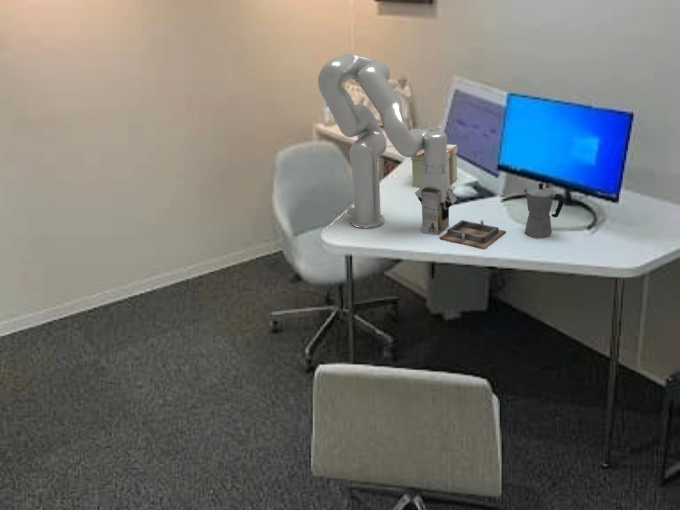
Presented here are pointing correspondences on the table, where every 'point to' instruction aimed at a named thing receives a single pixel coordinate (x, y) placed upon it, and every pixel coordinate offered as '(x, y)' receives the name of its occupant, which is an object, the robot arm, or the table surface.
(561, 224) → the table surface
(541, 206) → the coffeepot
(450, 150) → the gift box
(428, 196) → the coffee box
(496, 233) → the tray
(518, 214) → the table surface
